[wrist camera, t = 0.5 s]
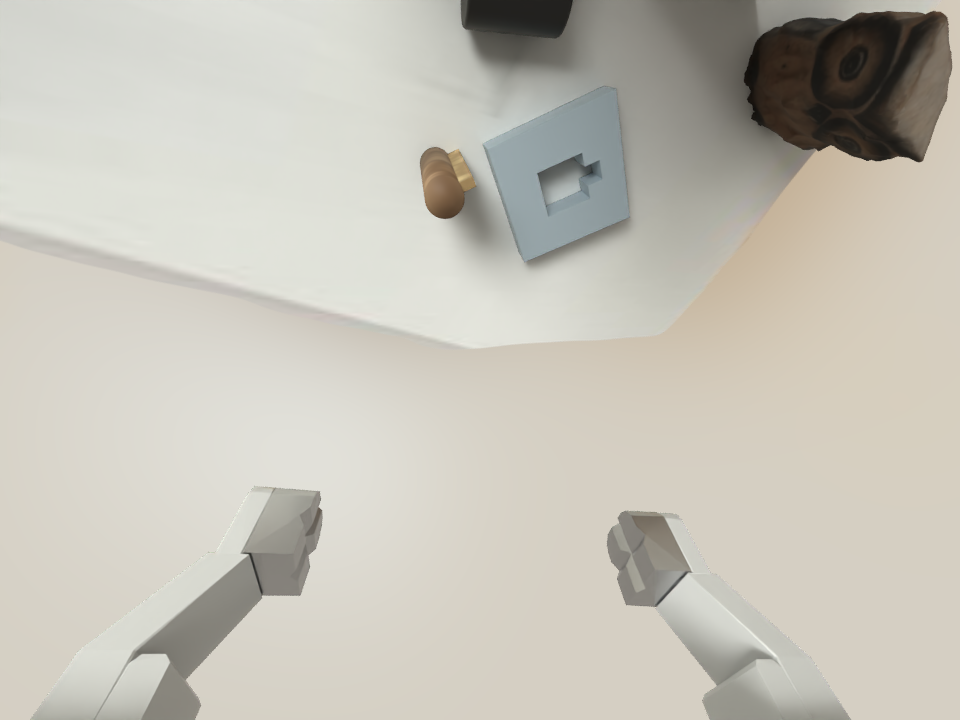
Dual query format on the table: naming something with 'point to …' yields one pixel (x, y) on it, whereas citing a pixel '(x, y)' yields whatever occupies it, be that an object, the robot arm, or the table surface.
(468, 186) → the keyed peg
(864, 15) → the owl
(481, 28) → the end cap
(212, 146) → the table surface
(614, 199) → the hub block
